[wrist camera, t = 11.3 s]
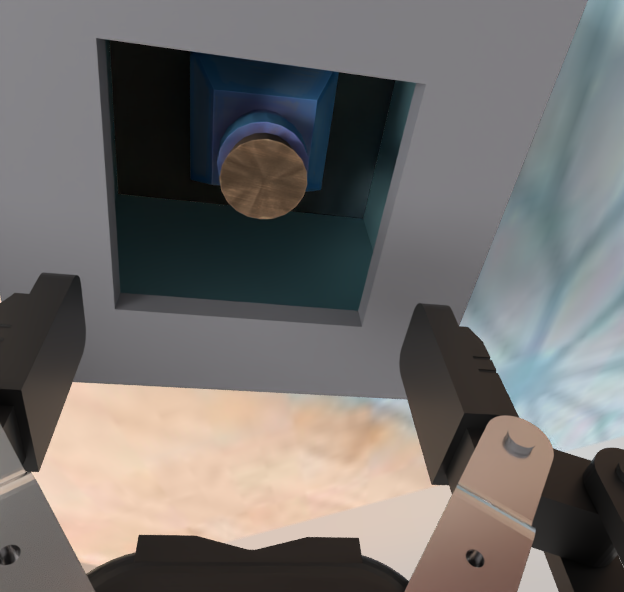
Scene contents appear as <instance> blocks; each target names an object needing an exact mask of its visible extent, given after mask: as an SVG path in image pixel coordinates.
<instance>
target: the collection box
mask: <svg viewBox="0 0 624 592" xmlns="http://www.w3.org/2000/svg"><path fill="white" fill-rule="evenodd" d="M587 1H588V0H0V296H1V301H2V302H3V301H4V300H6V299H7V298H8V297H10V296H11V295H12V294H14V293H24V294H29V293H30V292H31V290H32V288H33V286H34V284H35V283H36V281H37V279H38V277H39V276H40V274H41V273H43V272H45V273H57V274H70V275H78V276H79V277H80V281H81V288H82V297H83V306H84V315H85V324H86V341H85V347H84V352H83V355H82V358H81V360H80V363H79V366H78V369H77V371H76V374H75V377H74V379H73V382H84V383H103V384H123V385H142V386H161V387H180V388H199V389H218V390H238V391H257V392H276V393H295V394H314V395H334V396H353V397H372V398H391V399H407V396H406V392H405V389H404V385H403V382H402V378H401V375H400V368H399V359H400V352H401V348H402V345H403V342H404V339H405V336H406V333H407V330H408V327H409V324H410V321H411V317H412V314H413V311H414V309H415V307H416V305H417V304H418V303H424V304H437V305H448V306H450V307H451V309H452V311H453V314H454V316H455V318H456V320H457V323H458V325H460V322H461V320H462V317H463V315H464V312H465V310H466V307H467V305H468V302H469V299H470V297H471V294H472V292H473V289H474V287H475V284H476V282H477V279H478V277H479V274H480V272H481V269H482V267H483V264H484V262H485V259H486V256H487V254H488V251H489V249H490V246H491V244H492V241H493V239H494V236H495V234H496V231H497V229H498V226H499V224H500V221H501V219H502V216H503V214H504V211H505V208H506V206H507V203H508V201H509V198H510V196H511V193H512V191H513V188H514V186H515V183H516V181H517V178H518V176H519V173H520V171H521V168H522V165H523V163H524V160H525V158H526V155H527V153H528V150H529V148H530V145H531V143H532V140H533V138H534V135H535V133H536V130H537V128H538V125H539V122H540V120H541V117H542V115H543V112H544V110H545V107H546V105H547V102H548V100H549V97H550V95H551V92H552V90H553V87H554V85H555V82H556V80H557V77H558V74H559V72H560V69H561V67H562V64H563V62H564V59H565V57H566V54H567V52H568V49H569V47H570V44H571V42H572V39H573V37H574V34H575V31H576V29H577V26H578V24H579V21H580V19H581V16H582V14H583V11H584V9H585V6H586V4H587ZM110 40H114V41H121V42H129V43H136V44H143V45H150V46H157V47H164V48H171V49H178V50H186V51H193V52H200V53H207V54H214V55H221V56H228V57H235V58H242V59H250V60H257V61H264V62H271V63H278V64H285V65H292V66H299V67H307V68H314V69H321V70H328V71H335V72H342V73H349V74H356V75H363V76H371V77H378V78H385V79H392V80H395V84H394V88H393V92H392V97H391V101H390V105H389V110H388V114H387V118H386V123H385V127H384V131H383V136H382V140H381V144H380V148H379V153H378V157H377V161H376V166H375V170H374V174H373V179H372V183H371V187H370V192H369V196H368V200H367V204H366V209H365V213H364V217H363V219H362V218H352V217H342V216H332V215H322V214H312V213H303V212H293V211H289V212H288V213H287V214H285V215H282V216H279V217H276V218H272V219H257V218H252V217H248V216H246V215H244V214H242V213H240V212H238V211H236V210H235V209H234V208H233V207H232V206H231V205H223V204H214V203H204V202H194V201H184V200H174V199H164V198H154V197H144V196H134V195H125V194H118V179H117V161H116V143H115V125H114V107H113V89H112V71H111V53H110Z"/></svg>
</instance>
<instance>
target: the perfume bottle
mask: <svg viewBox="0 0 624 592" xmlns="http://www.w3.org/2000/svg"><path fill="white" fill-rule="evenodd" d="M338 75H339V72H335V71H328V70H321V69H314V68H307V67H299V66H292V65H285V64H278V63H271V62H264V61H257V60H250V59H242V58H235V57H228V56H221V55H214V54H207V53H200V52H193V51H190V180H193V181H198V182H202V183H207V184H211V185H221V191H222V193H223V195H224V197H225V199H226V200H227V202H228V203H229V204H230V205H231V206H232V207H233V208H234V209H235V210H236V211H238V212H240V213H242V214H244V215H246V216H248V217H252V218H257V219H272V218H276V217H279V216H282V215H285V214H287V213H288V212H289V211H291V210H292V209H293V208H295V207H296V206H297V205H298V203H299V202H300V201H301V199H302V198H303V196H304V193H305V192H308V191H317V190H321V187H322V180H323V173H324V167H325V160H326V154H327V147H328V141H329V134H330V128H331V121H332V115H333V108H334V101H335V95H336V88H337V82H338Z"/></svg>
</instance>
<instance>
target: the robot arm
mask: <svg viewBox="0 0 624 592" xmlns="http://www.w3.org/2000/svg"><path fill="white" fill-rule="evenodd" d="M85 341H86V324H85V315H84V306H83V297H82V288H81V281H80V277H79V276H78V275H70V274H57V273H45V272H43V273H41V274H40V276H39V277H38V279H37V281H36V283H35V284H34V286H33V288H32V290H31V292H30V293H29V294H24V293H14V294H12V295H11V296H10V297H8V298H7V299H6V300H4V301H3V302H1V303H0V592H517V591H518V588H519V584H520V581H521V578H522V575H523V572H524V569H525V566H526V562H527V559H528V556H529V553H530V549H531V547H533V548H536V549H539V550H542V551H544V553H545V556H546V559H547V561H548V564H549V567H550V569H551V572H552V575H553V577H554V580H555V583H556V585H557V588H558V591H559V592H624V567H623V566H624V450H623V449H619V448H605V449H602V450H600V451H599V452H598V453H597V454H596V456H595V457H594V459H593V460H592V461H590V460H587V459H584V458H581V457H577V456H574V455H571V454H568V453H565V452H561V451H559V450H556V449H553V447H552V445H551V443H550V441H549V439H548V438H547V436H546V435H545V434H544V433H543V432H542V431H541V430H540V429H539V428H537V427H536V426H535V425H533V424H532V423H530V422H528V421H526V420H524V419H521V418H519V416H518V414H517V412H516V410H515V408H514V406H513V404H512V402H511V400H510V397H509V395H508V393H507V391H506V389H505V387H504V385H503V383H502V381H501V379H500V377H499V375H498V373H496V368H495V366H494V364H493V362H492V360H490V356H489V354H488V352H487V350H486V348H485V346H484V344H483V341H481V340H480V339H479V338H478V337H477V336H476V335H475V334H474V333H473V332H472V331H471V330H470V329H469V328H468V327H460V326H459V325H458V323H457V320H456V318H455V316H454V314H453V311H452V309H451V307H450V306H448V305H437V304H424V303H418V304H417V305H416V307H415V309H414V311H413V314H412V317H411V321H410V324H409V327H408V330H407V333H406V336H405V339H404V342H403V345H402V348H401V352H400V359H399V368H400V375H401V378H402V382H403V385H404V389H405V392H406V396H407V399H408V403H409V407H410V410H411V414H412V417H413V421H414V424H415V428H416V431H417V435H418V438H419V442H420V445H421V449H422V452H423V456H424V459H425V463H426V466H427V470H428V473H429V477H430V481H431V484H432V485H449V486H450V489H451V492H452V496H451V498H450V500H449V502H448V504H447V506H446V508H445V510H444V512H443V514H442V516H441V518H440V520H439V522H438V524H437V526H436V528H435V530H434V532H433V534H432V536H431V538H430V540H429V542H428V544H427V546H426V548H425V551H424V552H423V554H422V556H421V558H420V560H419V562H418V564H417V566H416V568H415V570H414V573H413V574H412V577H411V579H410V580H409V581H408V580H407V579H405V578H404V577H403V576H402V575H400V574H399V573H398V572H396V571H395V570H393V569H392V568H390V567H388V566H387V565H385V564H383V563H381V562H379V561H376V560H374V559H372V558H369V557H366V556H362V555H361V549H360V544H359V538H331V537H329V538H328V537H327V538H326V537H306V538H302V539H298V540H294V541H290V542H286V543H282V544H277V545H274V546H269V547H266V548H261V549H257V550H247V549H243V548H240V547H235V546H232V545H228V544H225V543H221V542H217V541H213V540H210V539H206V538H202V537H198V536H180V535H139V537H138V543H137V548H136V552H135V553H132V554H128V555H124V556H122V557H119V558H116V559H113V560H111V561H109V562H107V563H105V564H103V565H101V566H98V567H97V568H95V569H94V570H92V571H90V572H89V573H87V574H86V573H85V571H84V570H83V568H82V566H81V564H80V562H79V560H78V558H77V556H76V554H75V553H74V551H73V549H72V547H71V545H70V543H69V541H68V539H67V537H66V536H65V534H64V532H63V530H62V528H61V526H60V524H59V522H58V520H57V518H56V517H55V515H54V513H53V511H52V509H51V507H50V505H49V503H48V501H47V500H46V498H45V496H44V494H43V492H42V490H41V488H40V486H39V484H38V483H37V481H36V479H35V477H34V476H33V474H32V473H31V472H39V470H40V468H41V465H42V462H43V460H44V457H45V454H46V452H47V449H48V446H49V444H50V441H51V438H52V436H53V433H54V430H55V427H56V425H57V422H58V419H59V417H60V414H61V411H62V409H63V406H64V403H65V401H66V398H67V395H68V393H69V390H70V387H71V385H72V382H73V379H74V377H75V374H76V371H77V369H78V366H79V363H80V360H81V358H82V355H83V352H84V347H85ZM25 471H27V472H25ZM618 556H619V557H618ZM619 558H620V559H619ZM620 560H621V561H620ZM621 562H622V563H621ZM622 564H623V565H622Z"/></svg>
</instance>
